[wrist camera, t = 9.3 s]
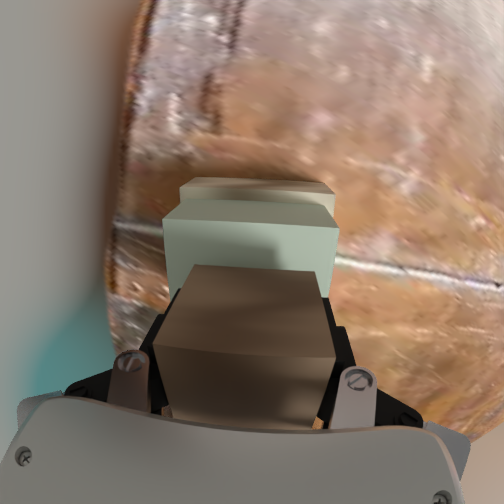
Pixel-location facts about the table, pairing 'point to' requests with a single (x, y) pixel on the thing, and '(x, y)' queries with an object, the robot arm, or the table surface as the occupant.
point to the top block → (249, 238)
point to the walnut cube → (246, 348)
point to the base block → (259, 191)
